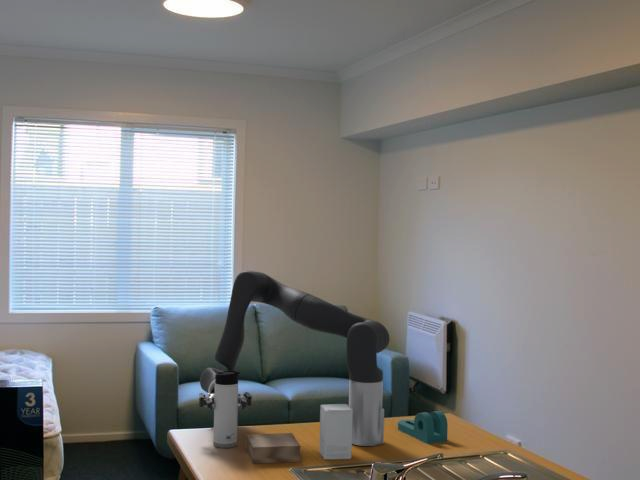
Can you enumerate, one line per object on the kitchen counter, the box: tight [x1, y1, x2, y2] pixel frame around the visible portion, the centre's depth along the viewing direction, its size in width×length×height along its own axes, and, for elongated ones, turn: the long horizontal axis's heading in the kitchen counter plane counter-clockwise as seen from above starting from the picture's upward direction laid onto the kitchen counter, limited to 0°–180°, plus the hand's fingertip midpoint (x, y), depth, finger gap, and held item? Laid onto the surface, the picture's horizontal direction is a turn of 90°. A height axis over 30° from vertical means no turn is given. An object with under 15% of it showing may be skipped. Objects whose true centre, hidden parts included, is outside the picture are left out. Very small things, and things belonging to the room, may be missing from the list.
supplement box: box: [318, 403, 353, 460], centre depth 195 cm, size 7×7×13 cm
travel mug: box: [212, 370, 241, 449], centre depth 202 cm, size 6×7×20 cm
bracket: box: [397, 410, 449, 445], centre depth 218 cm, size 18×7×8 cm, turn 25°
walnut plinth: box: [246, 432, 301, 464], centre depth 194 cm, size 12×12×4 cm
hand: (227, 405), depth 200 cm, fingers open, 8 cm apart
